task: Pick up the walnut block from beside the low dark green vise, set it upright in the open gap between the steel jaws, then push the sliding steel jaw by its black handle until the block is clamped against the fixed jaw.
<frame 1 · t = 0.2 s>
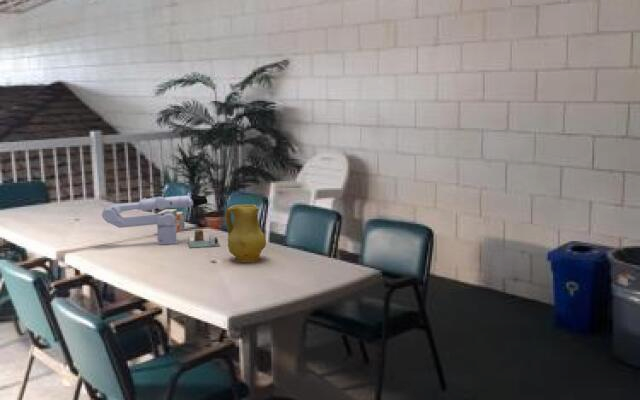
hand: (206, 199, 332), 21 cm above the table, tool horizontal, fingers open, 7 cm apart
pitcher: (246, 259, 297), on the table
walnut block: (199, 240, 336), on the table
vise base: (200, 245, 325), on the table
sliding jaw: (213, 239, 326), point 2 cm above the table, slide at 4.0 cm
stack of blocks: (171, 232, 358), on the table
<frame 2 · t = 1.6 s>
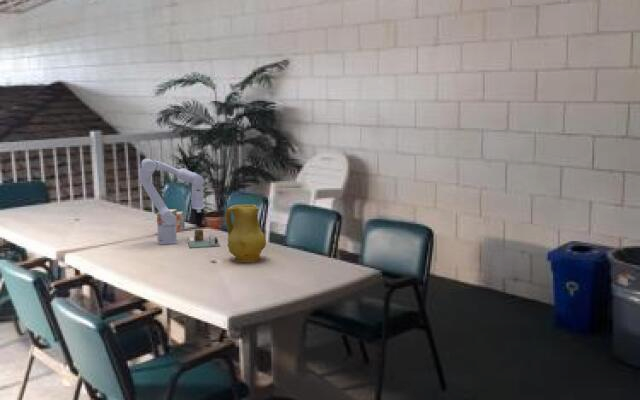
hand: (198, 223, 335), 8 cm above the table, tool pointing down, fingers open, 7 cm apart
nothing on the table moved.
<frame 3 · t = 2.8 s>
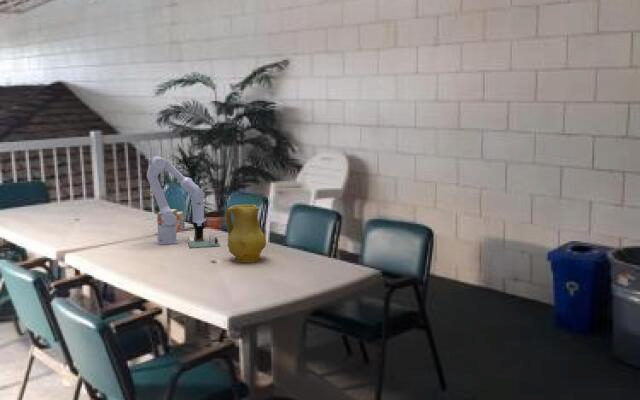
hand: (199, 237, 336), 1 cm above the table, tool pointing down, fingers closed on walnut block, 5 cm apart
walnut block: (199, 239, 336), on the table, touching gripper
everything else where it was.
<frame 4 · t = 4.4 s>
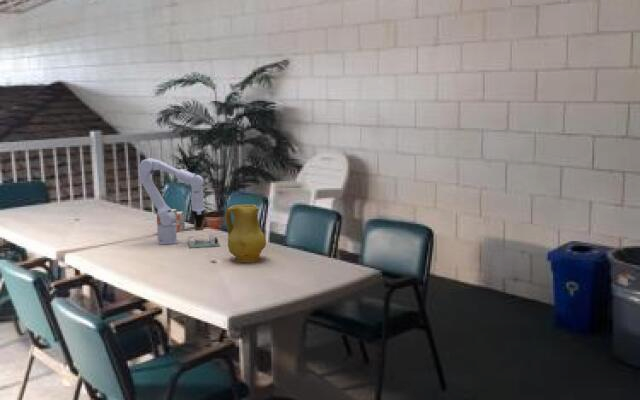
hand: (198, 226, 329), 8 cm above the table, tool pointing down, fingers closed on walnut block, 5 cm apart
walnut block: (198, 229, 330), point 7 cm above the table, touching gripper
when the fingers open (3 cm above the table, at t = 6.2 s): walnut block drops 1 cm, resting on vise base.
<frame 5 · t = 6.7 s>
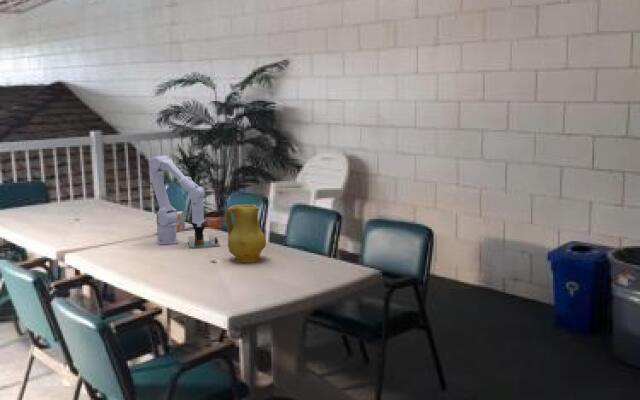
hand: (198, 238, 324), 3 cm above the table, tool pointing down, fingers open, 7 cm apart
walnut block: (199, 243, 325), point 1 cm above the table, touching vise base
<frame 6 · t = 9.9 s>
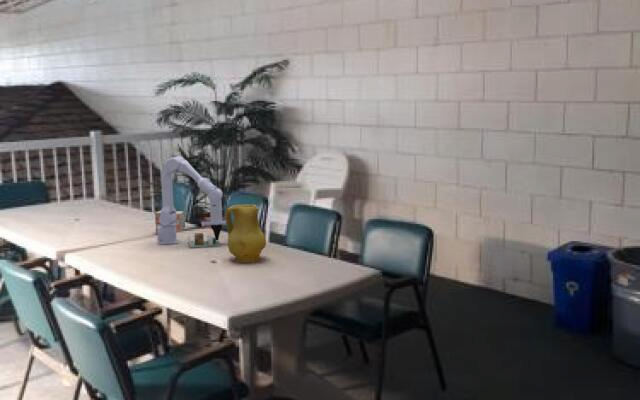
hand: (216, 239, 327), 2 cm above the table, tool pointing down, fingers closed
sliding jaw: (211, 240, 326), point 2 cm above the table, slide at 3.0 cm, touching gripper
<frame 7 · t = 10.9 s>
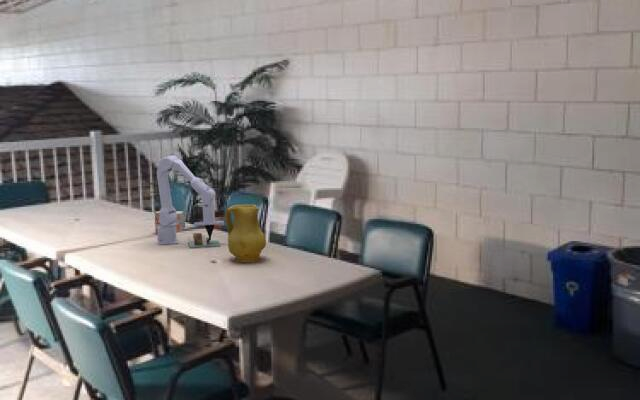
hand: (209, 240, 326), 2 cm above the table, tool pointing down, fingers closed, pressing on sliding jaw
walnut block: (197, 244, 324), point 1 cm above the table, touching sliding jaw, vise base
sliding jaw: (205, 240, 325), point 2 cm above the table, slide at 0.0 cm, touching gripper, walnut block
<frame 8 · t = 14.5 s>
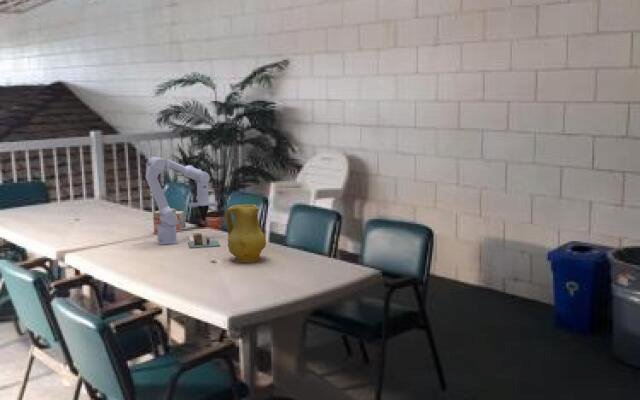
hand: (203, 220, 339), 9 cm above the table, tool pointing down, fingers closed
sliding jaw: (205, 240, 325), point 2 cm above the table, slide at 0.0 cm, touching walnut block
at the end: sliding jaw slide at 0.0 cm; walnut block 0.5 cm from the target spot, point 0.6 cm above the table; walnut block tilted 0° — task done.
